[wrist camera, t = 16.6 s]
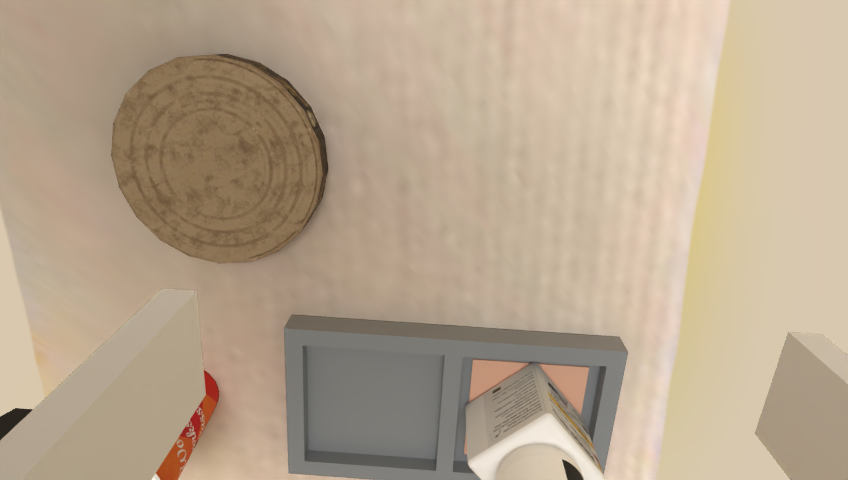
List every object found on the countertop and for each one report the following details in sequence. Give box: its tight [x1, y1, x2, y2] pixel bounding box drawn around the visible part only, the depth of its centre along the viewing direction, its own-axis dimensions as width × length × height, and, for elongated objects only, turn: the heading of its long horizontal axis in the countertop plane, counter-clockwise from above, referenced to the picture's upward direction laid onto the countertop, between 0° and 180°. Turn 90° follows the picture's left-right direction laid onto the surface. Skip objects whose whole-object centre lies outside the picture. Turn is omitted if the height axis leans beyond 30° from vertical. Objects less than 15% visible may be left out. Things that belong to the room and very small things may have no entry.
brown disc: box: [111, 54, 328, 263], centre depth 44 cm, size 16×16×3 cm
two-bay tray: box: [284, 315, 628, 480], centre depth 51 cm, size 28×15×2 cm, turn 87°
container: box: [465, 362, 605, 480], centre depth 44 cm, size 8×8×13 cm
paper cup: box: [152, 371, 219, 480], centre depth 46 cm, size 8×8×14 cm
